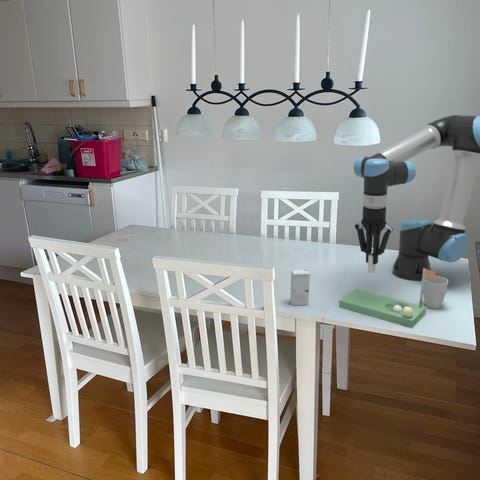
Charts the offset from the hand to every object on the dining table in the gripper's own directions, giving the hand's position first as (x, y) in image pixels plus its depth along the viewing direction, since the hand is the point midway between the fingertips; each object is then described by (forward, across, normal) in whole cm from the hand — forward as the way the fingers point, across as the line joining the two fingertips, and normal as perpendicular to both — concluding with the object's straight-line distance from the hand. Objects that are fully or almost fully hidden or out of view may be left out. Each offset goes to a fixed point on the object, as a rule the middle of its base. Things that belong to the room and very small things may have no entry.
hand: (371, 271), depth 168 cm
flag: (+11, +18, +4) cm, 21 cm away
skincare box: (+13, -21, -13) cm, 28 cm away
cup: (+14, +18, +13) cm, 26 cm away
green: (+13, +5, -1) cm, 14 cm away
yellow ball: (+9, +15, -5) cm, 18 cm away
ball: (+11, +10, -1) cm, 15 cm away
